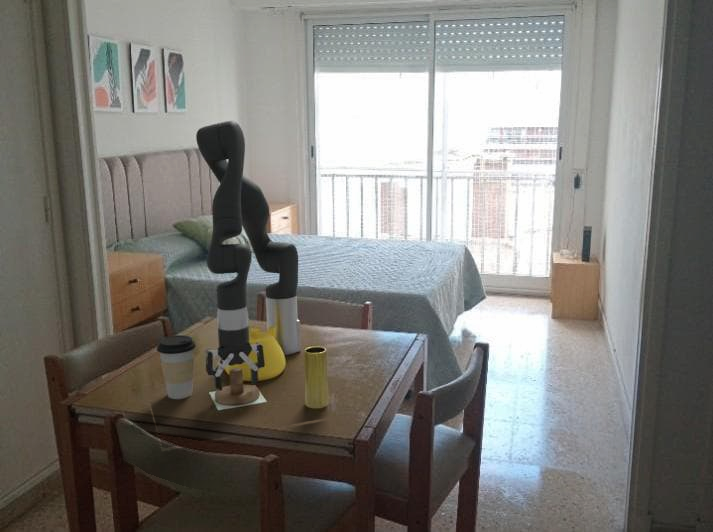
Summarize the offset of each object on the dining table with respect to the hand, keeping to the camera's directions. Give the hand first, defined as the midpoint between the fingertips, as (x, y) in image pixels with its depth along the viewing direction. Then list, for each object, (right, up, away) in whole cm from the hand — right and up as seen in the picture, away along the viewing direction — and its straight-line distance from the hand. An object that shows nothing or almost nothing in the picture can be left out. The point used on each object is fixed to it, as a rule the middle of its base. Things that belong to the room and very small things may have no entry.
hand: (236, 386), depth 171 cm
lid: (0, -3, +1) cm, 3 cm away
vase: (+20, -4, -4) cm, 21 cm away
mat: (0, -3, +1) cm, 3 cm away
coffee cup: (-15, -3, +3) cm, 16 cm away
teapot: (+2, +1, +20) cm, 20 cm away
